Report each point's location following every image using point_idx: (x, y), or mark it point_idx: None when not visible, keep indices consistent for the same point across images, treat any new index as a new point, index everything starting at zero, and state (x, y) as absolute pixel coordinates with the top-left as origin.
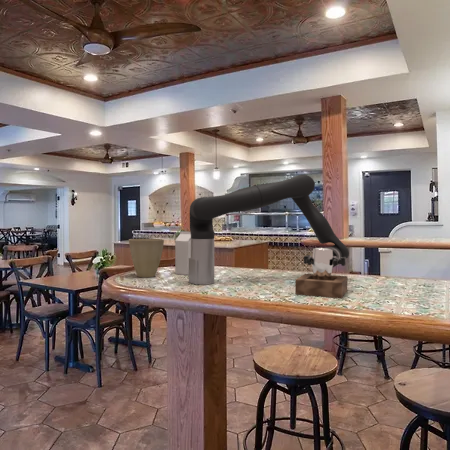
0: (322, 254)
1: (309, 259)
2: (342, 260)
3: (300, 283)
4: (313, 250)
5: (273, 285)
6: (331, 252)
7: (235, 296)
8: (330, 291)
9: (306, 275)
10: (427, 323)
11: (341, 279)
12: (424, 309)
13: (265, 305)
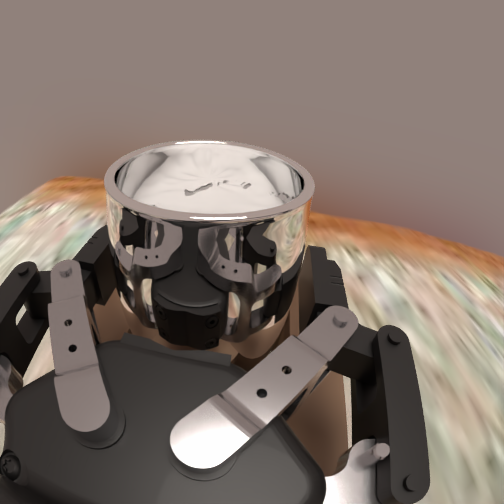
0: (212, 174)
1: (310, 246)
2: (41, 273)
3: None
4: (296, 178)
5: (458, 463)
6: (135, 175)
7: (430, 269)
8: None
9: (319, 417)
10: (66, 180)
11: (101, 317)
12: (4, 231)
13: (332, 219)
